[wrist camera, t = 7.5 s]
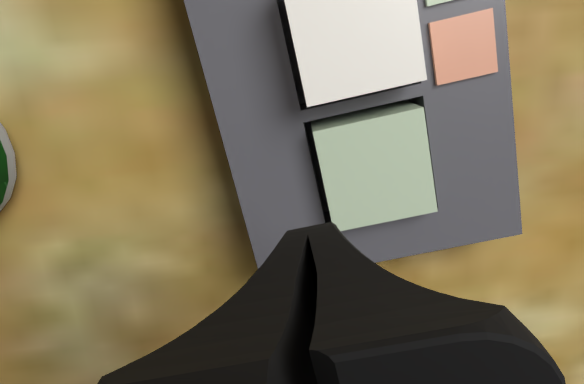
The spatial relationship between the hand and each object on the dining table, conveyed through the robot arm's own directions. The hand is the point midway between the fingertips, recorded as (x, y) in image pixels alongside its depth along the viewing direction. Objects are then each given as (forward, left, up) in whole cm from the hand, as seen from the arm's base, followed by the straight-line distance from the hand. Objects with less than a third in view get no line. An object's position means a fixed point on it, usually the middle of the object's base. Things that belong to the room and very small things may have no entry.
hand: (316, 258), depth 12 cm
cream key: (+6, -3, -9) cm, 11 cm away
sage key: (0, -3, -10) cm, 10 cm away
